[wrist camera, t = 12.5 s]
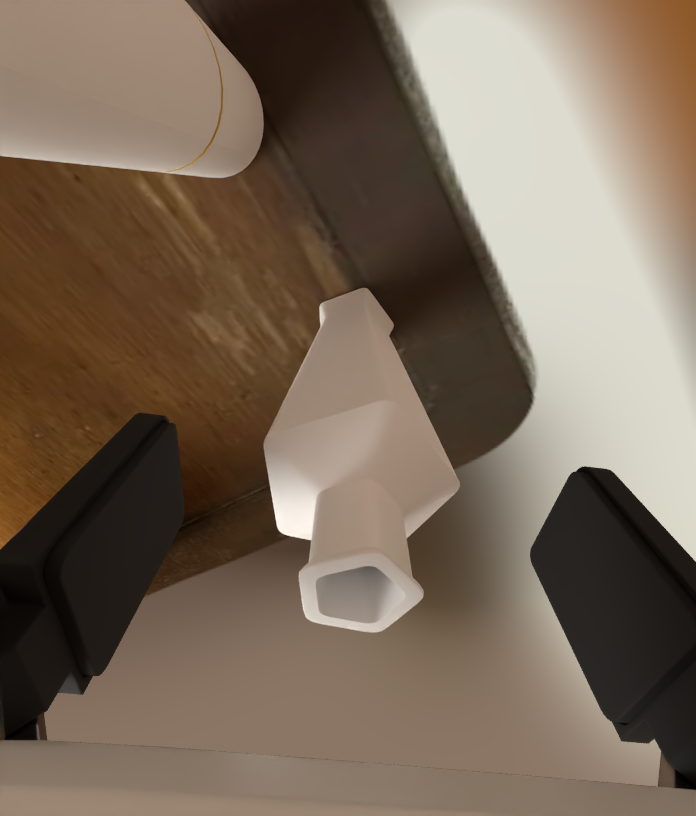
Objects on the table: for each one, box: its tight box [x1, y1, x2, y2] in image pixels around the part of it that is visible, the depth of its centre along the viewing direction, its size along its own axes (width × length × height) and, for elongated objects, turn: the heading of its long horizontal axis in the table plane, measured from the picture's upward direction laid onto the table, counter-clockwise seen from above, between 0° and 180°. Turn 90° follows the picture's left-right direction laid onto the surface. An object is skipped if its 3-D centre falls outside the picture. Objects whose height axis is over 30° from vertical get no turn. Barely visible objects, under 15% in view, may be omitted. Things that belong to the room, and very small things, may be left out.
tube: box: [0, 0, 264, 178], centre depth 9 cm, size 4×4×15 cm
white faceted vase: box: [264, 288, 460, 633], centre depth 13 cm, size 5×4×15 cm
